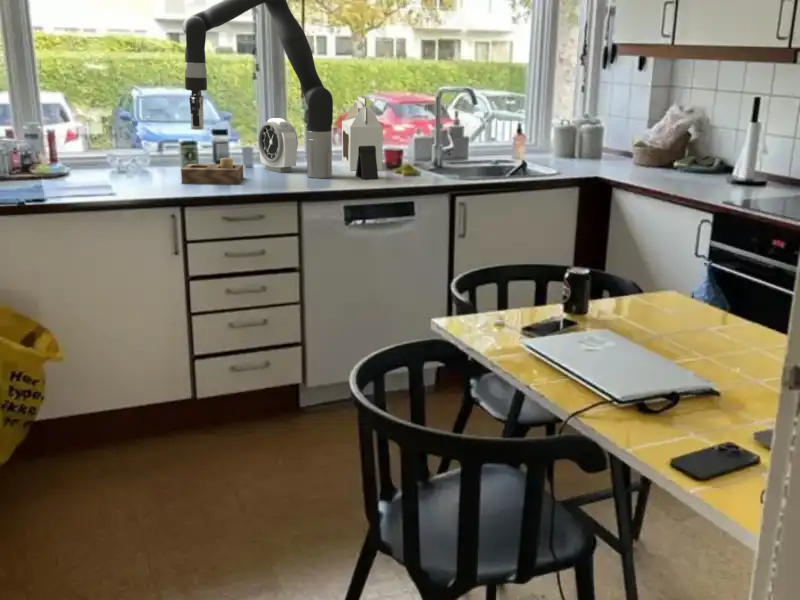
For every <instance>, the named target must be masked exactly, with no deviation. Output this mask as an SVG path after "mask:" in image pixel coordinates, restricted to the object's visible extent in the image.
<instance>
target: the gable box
mask: <svg viewBox="0 0 800 600" xmlns="http://www.w3.org/2000/svg"><path fill="white" fill-rule="evenodd" d="M354 102H355V103H354V104H353V105H352V107H351V109H350V110H349V112H348V113H347V114H346V116H345V118H344V119H343V120H342V121H341V164H343V166H344V167H345V168H346V169H348V170H349V172H350V171H351V172H356V168H357V161H358V148H359V146H375V147H376V161H377V170H378V171H383V149H384V148H383V146H384V145H383V141H384V140H383V139H384V138H383V137H384V136H383V135H384V133H383V131H384V127H383V126H382V124H381V122H380V121H379V119H378V118H377V116H376V114H375V112H374V111H373V110H372V108H371V107H370V106H367V98H365V97H364V96H363V97H362V96H357V98H355V99H354Z"/></svg>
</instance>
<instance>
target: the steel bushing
mask: <svg viewBox="0 0 800 600" xmlns="http://www.w3.org/2000/svg"><path fill="white" fill-rule="evenodd" d="M194 110H196V109H194ZM199 113H200V114H199V115H198V116H199V124H200V125H199V126H193V115H192V114H191V113H190V129H191V130H193V131H194V130H196V131H198V130H204V129H205V125H204V123H205V122H204V120H205V119H204V105H203V106H201V109H200V110H199Z"/></svg>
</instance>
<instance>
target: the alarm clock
mask: <svg viewBox="0 0 800 600" xmlns="http://www.w3.org/2000/svg"><path fill="white" fill-rule="evenodd" d="M298 143H299V142H298V135H297V132H296V129H295V127H294V126H293V125H292V124H291V123H290V122H289V121H286V120H285V119H284V118H281V117H275V118H273V117H272V118H269V119H268V120H267V121H265V122H264V123H263V124H262V125H261V126H260V127H259V130H258V135H257V144H258V148H259V149H258V150H259V158H260V163H261V164H263V165H265V168H264V169H265V170H266V171H272V172H277V173H288V172H292V167H297V160H298V159H297V158H298V157H297V156H298Z"/></svg>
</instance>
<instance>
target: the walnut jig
mask: <svg viewBox="0 0 800 600" xmlns="http://www.w3.org/2000/svg"><path fill="white" fill-rule="evenodd" d="M219 161H220V162H219V164H218V163H188V164H186V165H185V166H184V167H182V168H181V169H180V170H181V171H180V174H181V184H200V185H201V184H204V185H205V184H208V185H209V184H211V185H213V184H214V185H215V184H216V185H217V184H219V185H220V184H221V185H239V184H240V183H241V182H242V181H243V179H244V177H245V176H244V164H240V163H239V164H234V160H233V158H232V157H223V158H220V159H219Z"/></svg>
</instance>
